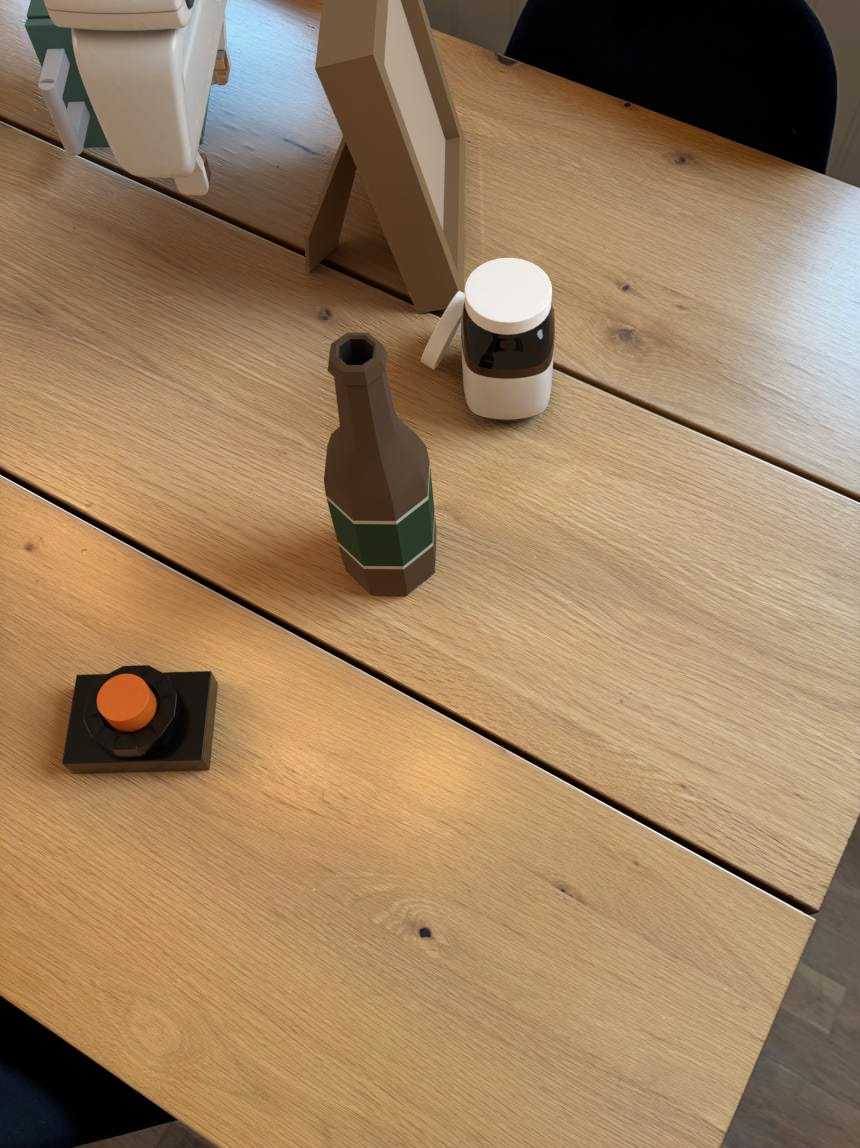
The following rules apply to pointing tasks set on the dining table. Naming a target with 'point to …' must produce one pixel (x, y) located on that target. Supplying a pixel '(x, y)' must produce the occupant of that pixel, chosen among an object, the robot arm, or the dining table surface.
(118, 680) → the orange button
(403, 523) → the beer bottle
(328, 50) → the photo frame
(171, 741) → the button panel
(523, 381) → the spread jar
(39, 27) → the fridge door
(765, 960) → the dining table surface
